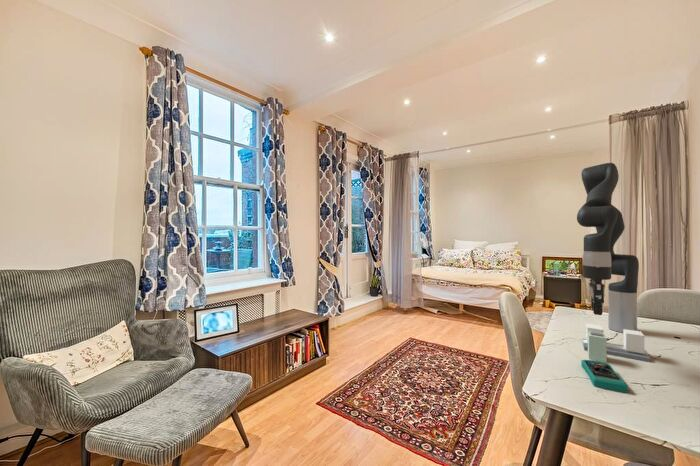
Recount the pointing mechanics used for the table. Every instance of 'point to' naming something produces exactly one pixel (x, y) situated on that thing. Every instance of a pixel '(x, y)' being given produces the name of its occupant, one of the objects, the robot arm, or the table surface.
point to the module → (597, 346)
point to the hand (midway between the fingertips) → (596, 311)
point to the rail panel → (623, 353)
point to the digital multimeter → (603, 376)
